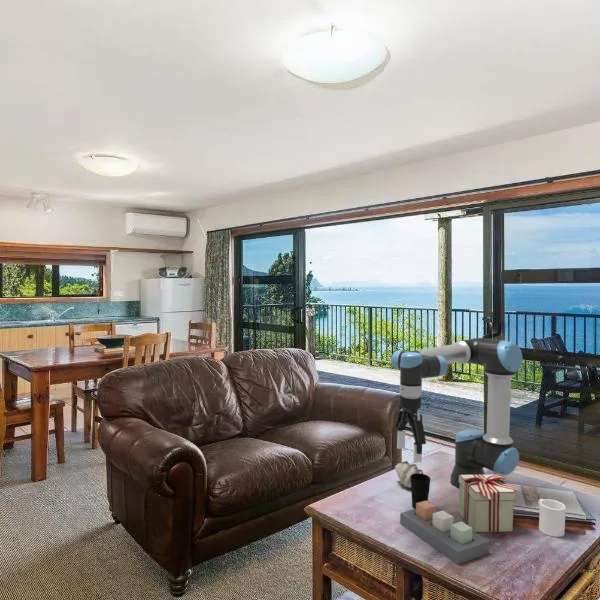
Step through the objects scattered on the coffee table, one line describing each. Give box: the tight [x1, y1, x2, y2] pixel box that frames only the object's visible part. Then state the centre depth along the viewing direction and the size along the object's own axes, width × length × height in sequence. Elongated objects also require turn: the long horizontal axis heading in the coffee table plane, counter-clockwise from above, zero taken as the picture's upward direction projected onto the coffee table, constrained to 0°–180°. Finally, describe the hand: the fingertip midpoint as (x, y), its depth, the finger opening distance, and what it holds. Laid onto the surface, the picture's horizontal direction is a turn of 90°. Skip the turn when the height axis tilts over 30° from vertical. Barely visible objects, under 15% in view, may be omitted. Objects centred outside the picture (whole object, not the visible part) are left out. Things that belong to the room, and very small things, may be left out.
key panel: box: [399, 508, 491, 565], centre depth 167 cm, size 14×28×4 cm, turn 28°
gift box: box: [457, 473, 521, 533], centre depth 177 cm, size 17×18×17 cm
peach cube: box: [416, 500, 437, 521], centre depth 175 cm, size 5×5×5 cm
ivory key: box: [432, 510, 454, 532], centre depth 167 cm, size 5×5×5 cm
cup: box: [410, 473, 431, 509], centre depth 189 cm, size 8×8×12 cm
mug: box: [537, 498, 566, 538], centre depth 174 cm, size 8×12×10 cm, turn 7°
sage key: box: [450, 521, 473, 545], centre depth 160 cm, size 5×5×5 cm
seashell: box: [394, 460, 424, 489], centre depth 207 cm, size 10×15×10 cm
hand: (408, 455), depth 173 cm, fingers open, 13 cm apart
